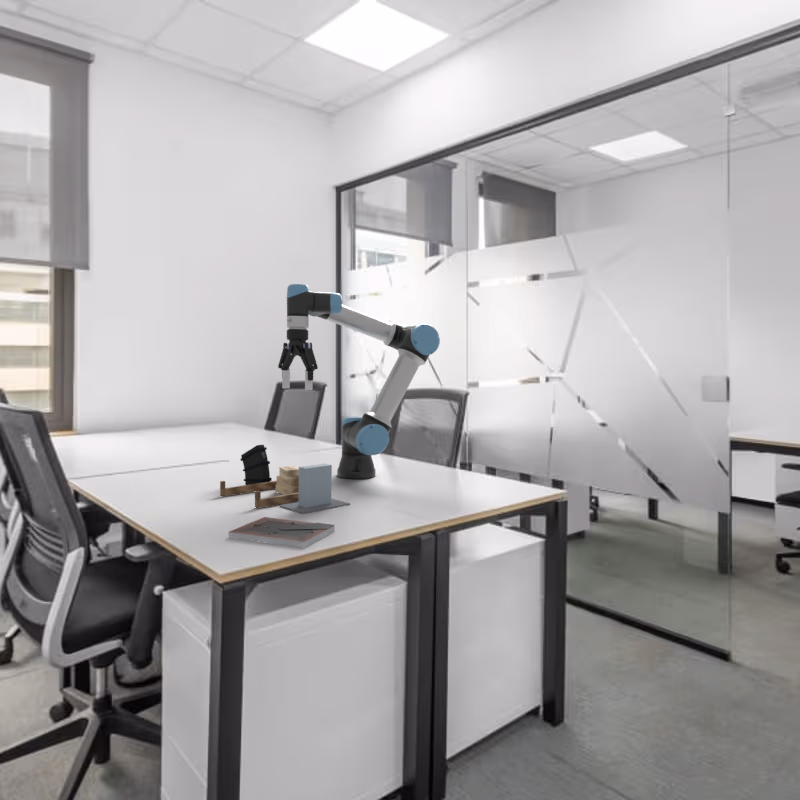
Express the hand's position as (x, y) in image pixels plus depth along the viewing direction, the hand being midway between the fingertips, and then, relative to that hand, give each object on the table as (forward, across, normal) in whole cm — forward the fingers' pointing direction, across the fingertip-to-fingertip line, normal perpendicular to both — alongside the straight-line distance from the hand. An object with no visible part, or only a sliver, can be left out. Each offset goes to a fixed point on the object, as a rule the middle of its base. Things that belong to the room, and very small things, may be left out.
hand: (297, 389), depth 219 cm
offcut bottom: (+35, +9, -8) cm, 37 cm away
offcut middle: (+32, +8, -8) cm, 34 cm away
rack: (+35, +8, -16) cm, 39 cm away
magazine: (+35, -9, -11) cm, 38 cm away
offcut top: (+29, +8, -9) cm, 32 cm away
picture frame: (+36, +48, -39) cm, 71 cm away
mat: (+35, +28, -13) cm, 46 cm away
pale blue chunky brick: (+34, +28, -13) cm, 46 cm away
